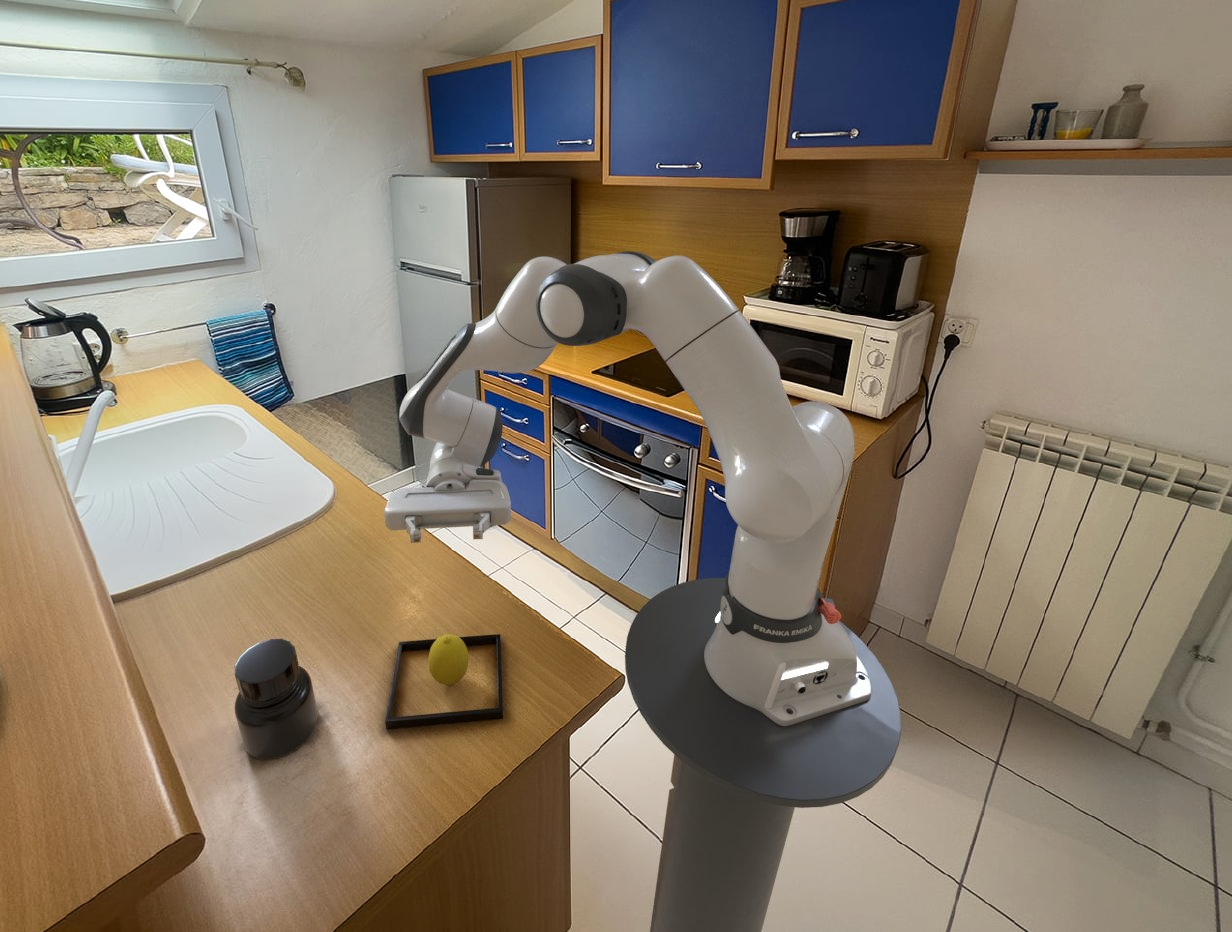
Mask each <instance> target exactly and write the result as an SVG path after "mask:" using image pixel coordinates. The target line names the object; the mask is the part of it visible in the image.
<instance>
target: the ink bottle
mask: <svg viewBox="0 0 1232 932" xmlns="http://www.w3.org/2000/svg"><path fill="white" fill-rule="evenodd" d="M298 659H299V658H298V655H297V649H296V646H295V645H293V643H292V642H291V641H290V640H287V639H283V638H269V639H267V640H263V641H259V642H258V643H256V644H254V645H253V646H251V647H248V648H247V650H245V651H244V652H243V654H241V655H240V656H239V657H238V660H237V661H236V663H235V665H234V678H235V681H236V684H237V688H238V693H237V696H236V698H235V700H234V701H235V703H234V714H235V718H236V721H237V725H238V729H239V732H240V736H241V739H242V742H243V746H244V749H245V750H246V752H247V753H248V754H249V755H250V756H251V757H253V758H255V759H259V760H272V759H277V758H281V757H285V756H286V755H289V754H291V753H292V752H294V751H297V750H298V749H299V748H300V747H302V746H303V745H304V744H305V743H306V742H307V741H308V740H309V739H310V737H311V736H312V734H313V732H314V731H315V729H316V726H317V723H318V719H319V714H318V705H317V701H316V696H315V692H314V687H313V682H312V678H311V675H310V674H309V672H308V671H307V670H306V669H305V668H304V667H302V666H301V665H300V664H299V660H298Z"/></svg>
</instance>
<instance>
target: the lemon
mask: <svg viewBox="0 0 1232 932" xmlns="http://www.w3.org/2000/svg"><path fill="white" fill-rule="evenodd" d="M459 637H460V636H458V635H456V634H451V633H450V634H449V633H447V634H443V635H441V636H439V637H438V638H436V639H437V640H436V641H435V642H434V643H433V645H432V647H431V649H430V650H429V653H428V659H427V660H428V661H427V662H428V669H429V672H430V675H431V677H432V678H433V679H434V680H435V682H437V683H439V684H440V685H444V686H451V685H454V684H457V683H458V682H460V681H461V680H462V679H463V677H464V676H465V675H466V673H467V670H468V668H469V661H470V659H469V651H468V647H466V645H465V643H464V642H463V640H462V639H461V638H459Z"/></svg>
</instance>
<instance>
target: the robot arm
mask: <svg viewBox="0 0 1232 932" xmlns="http://www.w3.org/2000/svg"><path fill="white" fill-rule="evenodd" d="M500 297H501V298H500V300H499V301H498V303H497V305H496V307H495V309H494V310H493V312H491V314H489V315H488V316H486V317H485V318H484V319H482V320H480V321H476V322H470V323H466V324H464V325H463V326H462V327H461V328H459V330H458V331H457V332H456V333H455V334H454V335H453V336H452V338H451V339H450V340H449V341H448V343H447V344H446V345H445V346H444V347H443V349H442V350H441V351H440V352H439V354H438V356H436V358H435V359H434V360H433V362H432V363H431V365H430V366H429V367H428V369H427V370H426V371H425V372H424V373H423V375H422V376H421V377H420V378H419V379H418V380H417V381H416V382H415V383H414V384H413V386H411V388H410V389H409V390H408V392H407V393H405V396H404V397H403V399H402V401H401V404H400V407H399V412H398V420H399V423H400V425H401V426H402V427H403V429H404V431H405V433H406V434H407V435H408V436H412V437H416V438H420V439H424V440H425V439H427V440H430V441H432V442H435V444H434V447H433V450H432V453H431V455H430V460H429V470H428V473H427V478H426V484H425V486H423V487H421V486H420V487H403V488H399V489H396V490H395V491H394V492H390V493H389V495H388V498H387V503H386V506H385V508H384V511H383V513H384V522H385V523H384V524H385V527H386V528H387V529H388V530H390V531H406V533H407V534H408V535H409V540H410V544H417V543H421V542H422V536H423V535H422V530H425V529H426V530H429V529H448V528H466V527H472V539H473V540H483V539H484V534H485V533H486V531H488V530H489V529H490V528H491V526H503V525H507V524H509V523H510V522H511V521H512V502H511V497H510V496H511V495H510V493H509V489H508V487H507V485H506V484H505V483H504V482H503V479H502V474H501V471H500V470H497V469H492V468H485V467H483V466H485V465H486V464H488V462H490V461H491V460H492V459H493V458H494V456H495V454H496V452H497V451H498V448H499V447H500V443H501V440H502V436H503V430H504V428H503V427H504V422H503V419H502V415H501V412H500V411H499V409H498V407H497V406H494V405H492V404H490V403H487V402H485V401H482V400H479V399H476V398H474V397H470V396H467V395H465V394H462V393H459V392H457V391H453V390H451V389H449V388H448V387H450V385H451V384H452V383H453V382H454V380H455V379H456V377H457V376H458V375H459V374H462V373H464V372H468V371H469V372H470V371H488V372H489V371H490V372H498V373H505V374H523V373H527V372H531V371H534V370H536V369H537V368H539V367H541V366H542V365H543V364H544V362H546V361H547V359H548V358H549V357H550V356H551V354H552V353H553V352H554V351H555V349H556V347H557V346H558V344H560V345H563V346H568V347H581V346H582V347H583V346H589V345H594V344H597V343H599V342H602V341H605V340H607V339H610V338H613V337H616V336H619V335H621V334H623V333H625V332H627V331H629V330H633V331H637V332H639V333H641V334H643V335H644V336H645V337H646V338H647V339H648V340H649V341H650V342H651V344H652V345H653V346H654V348H655V349H656V350H657V352H658V354H659V356H660V357H661V358H662V360H663V361H664V362H665V363H666V365H667V366H668V368H669V369H670V371H671V372H672V374H673V375H674V377H675V378H676V379H677V381H678V382H679V384H680V386H681V387H682V388H683V390H684V392H685V393H686V394H687V395H688V397H689V398H690V400H691V401H692V403H693V405H694V406H695V407H696V409H697V411H698V412H699V415H700V416H701V418H702V421H703V422H704V424H705V426H706V429H707V431H708V433H709V436H710V439H711V442H712V444H713V446H714V450H715V452H716V454H717V457H718V460H719V462H720V466H721V469H722V473H723V478H724V498H725V504H726V508H727V510H728V513H729V514H730V516H731V518H732V520H734V522H735V523H736V524H737V527H736V530H735V535H734V541H733V546H732V553H731V560H730V565H729V570H728V572H727V573H726V575H725V577H724V578H725V582H724V586H723V592H722V598H721V605H720V612H719V614H718V615H717V617H716V620H715V622H718V623H717V626H716V628H715V630H714V633H713V634H712V636H711V638H710V639H709V641H708V643H707V644H706V647H705V651H704V661H705V665H706V668H707V670H708V672H709V674H710V676H711V677H712V679H713V680H714V682H715V683H716V684H717V685H718V686H719V687H720V688H721V689H722V690H723V691H724V692H725V693H726V694H728V695H729V696H731V697H732V698H734V699H735V700H737V701H739V702H741V703H743V704H745V705H747V706H750V707H752V708H755V709H757V710H759V711H761V712H762V713H763V714H765V715H766V716H767V717H768V718H770V719H771V720H772V721H774V722H775V723H777V724H779V725H781V726H789V725H792V724H795V723H799V722H802V721H805V720H808V719H811V718H814V717H817V716H820V715H823V714H827V713H830V712H833V711H836V710H839V709H842V708H845V707H848V706H851V705H854V704H858V703H861V702H864V701H867V700H869V699H870V698H871V683H870V679H869V676H868V674H867V672H866V670H865V668H864V666H863V664H862V663H861V661H860V659H859V658H858V656H857V655H856V651H855V648H854V645H853V643H852V641H851V639H850V637H849V635H848V634H847V632H846V631H845V629H844V628H843V627H842V625H841V624H840V623H839V622H838V621H840V622H841V619H842V614H841V612H840V611H839V610H837V609H838V607H837V605H836V604H835V602H834V600H833V598H831V597H830V598H829V597H828V598H827V597H824V594H823V592H821V590H820V589H819V583H820V581H821V575H822V571H823V567H824V563H825V559H826V555H827V552H828V549H829V545H830V541H831V539H832V535H833V532H834V529H835V525H836V522H837V519H838V516H839V512H840V509H841V505H842V501H843V499H844V495H845V491H846V487H847V484H848V480H849V477H850V474H851V470H852V467H853V462H854V458H855V450H856V442H855V441H856V440H855V431H854V428H853V426H852V423H851V421H850V419H849V418H848V417H847V416H846V415H845V413H843V411H841V410H840V409H838V408H837V407H835V406H833V405H831V404H830V403H826V402H822V401H813V400H812V401H804V402H801V403H798V404H795V405H792V404H791V401H790V400H789V399H790V398H789V397H788V395H787V392H786V390H785V388H784V384H783V381H782V377H781V372H780V366H779V363H778V362H777V359H776V358H775V356H774V355H773V354H772V352H771V351H770V349H769V348H768V347H767V346H766V344H765V343H764V341H763V340H762V338H761V337H760V336H759V335H758V333H757V332H756V330H755V329H754V328H753V326H752V325H751V323H749V321H748V320H747V318H746V317H745V316H744V313H742V311H741V310H740V309H739V307H738V306H737V304H735V302H734V301H733V300H732V298H731V297H730V296H729V295H728V293H726V291H725V290H724V289H723V288H722V287H721V286H720V285H719V284H718V282H717V281H716V280H715V278H713V277H712V276H710V274H709V273H708V272H707V271H706V270H705V269H704V268H702V267H701V266H700V265H699V264H698V263H697V262H695V261H694V260H693V259H692V258H690V257H687V256H685V255H679V254H678V255H670V256H666V257H662V258H661V259H658V260H655V259H654V258H653V257H651V256H650V255H648V254H646V253H642V252H638V251H629V250H628V251H627V250H626V251H619V252H615V253H611V254H605V255H604V254H603V255H602V254H599V255H594V256H590V257H587V258H584V259H582V260H579V261H576V262H575V263H568V264H567V263H566V262H564V261H563V260H560V259H558V258H555V257H551V256H545V255H544V256H537V257H533V258H532V259H530V260H528V261H527V262H526V263H525V264H523V266H522V267H521V269H520V270H519V271H518V272H517V273H516V275H515V276H514V277H513V278H512V280H511V282H510V283H509V284H508V286H507V287H506V289H505V290H504V292H503V294H502V296H500ZM861 679H862V680H861ZM787 712H789V713H791V714H789V713H787Z"/></svg>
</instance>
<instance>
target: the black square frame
mask: <svg viewBox="0 0 1232 932" xmlns="http://www.w3.org/2000/svg"><path fill="white" fill-rule="evenodd" d="M458 637H459V638H461V639H462V640H463V642H464V643H465V645H466V648H469V647H479V646H480V647H482V646H494V645H496V660H497V661H496V664H497V666H496V669H497V707H490V708H481V709H479V708H478V709H469V710H457V711H445V712H435V713H425V714H415V715H414V714H413V715H403V716H394V711H395V705H396V699H397V694H398V686H399V681H400V675H401V669H402V668H401V667H402V661H403V655H404V652H405V653H406V652H416V651H417V652H418V651H430V649H431V647H432V645H433V643H434V642H435V641H436V640H437V639H438V638H431V639H430V638H429V639H418V640H417V639H415V640H406V641H405V640H404V641H403V640H402V641H399V642H398V645H397V650H396V656H395V660H394V661H395V662H394V668H393V672H392V673H393V674H392V679H391V685H390V691H389V696H388V703H387V708H386V712H385V713H386V715H385V718H384V719H385V720H384V725H385V730H386V731H389V730H400V729H409V728H411V729H412V728H420V727H432V726H443V725H452V724H463V723H475V722H485V721H496V720H504V700H503V695H504V694H503V671H502V670H503V669H502V667H503V666H502V640H501V638H502V637H501V633H496V634H494V633H493V634H480V635H471V636H458Z"/></svg>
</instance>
